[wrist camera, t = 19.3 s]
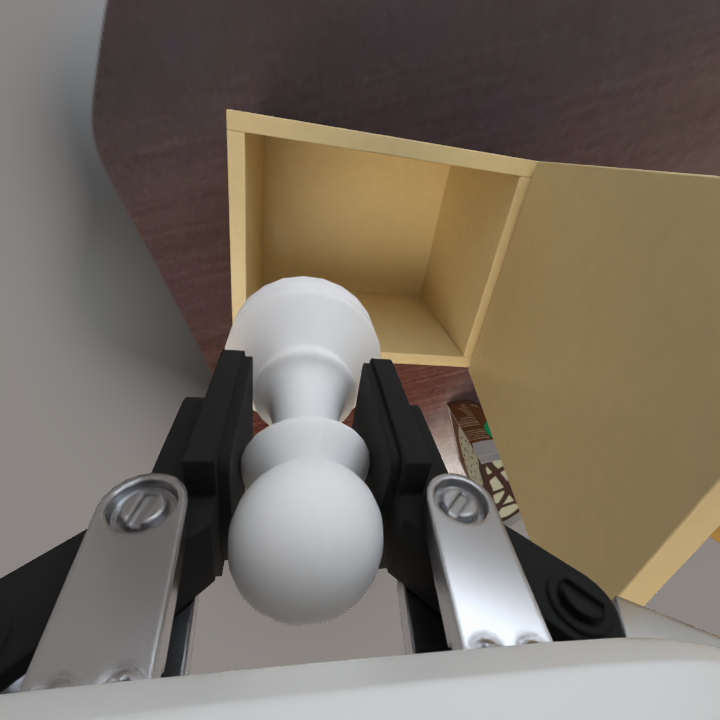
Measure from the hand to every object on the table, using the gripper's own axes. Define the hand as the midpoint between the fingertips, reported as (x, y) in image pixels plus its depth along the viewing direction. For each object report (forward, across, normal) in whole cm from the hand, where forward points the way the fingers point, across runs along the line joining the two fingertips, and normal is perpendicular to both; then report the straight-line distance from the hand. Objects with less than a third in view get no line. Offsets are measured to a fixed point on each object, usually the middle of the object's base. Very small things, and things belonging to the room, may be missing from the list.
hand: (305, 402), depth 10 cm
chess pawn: (+4, 0, 0) cm, 4 cm away
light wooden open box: (+24, -4, -1) cm, 24 cm away
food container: (+24, -22, +20) cm, 38 cm away
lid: (+4, -10, -1) cm, 10 cm away
